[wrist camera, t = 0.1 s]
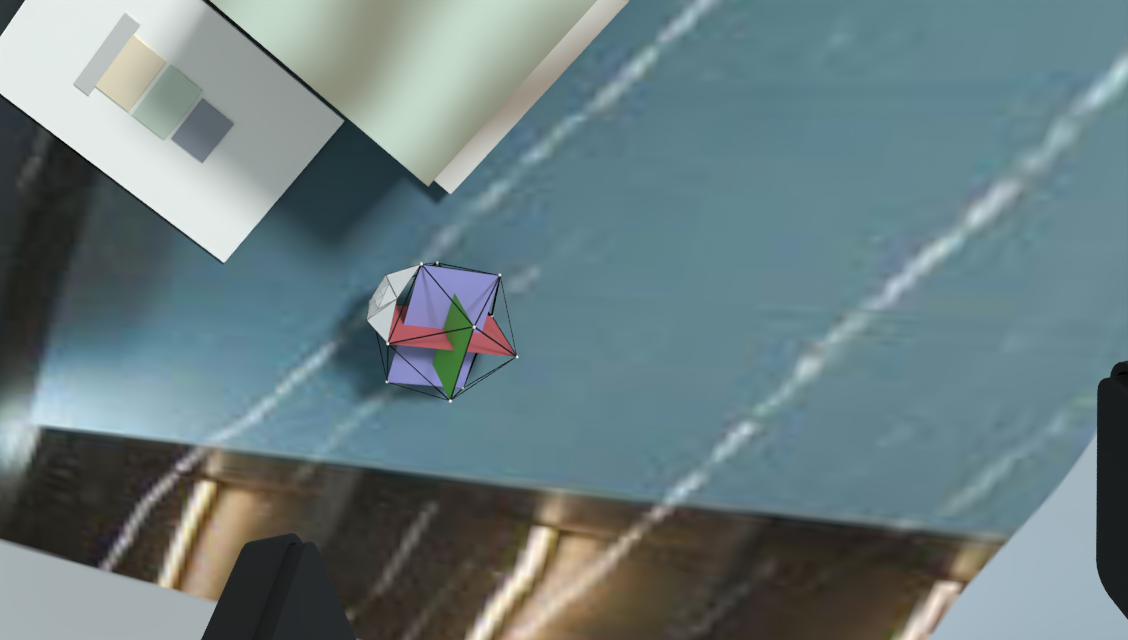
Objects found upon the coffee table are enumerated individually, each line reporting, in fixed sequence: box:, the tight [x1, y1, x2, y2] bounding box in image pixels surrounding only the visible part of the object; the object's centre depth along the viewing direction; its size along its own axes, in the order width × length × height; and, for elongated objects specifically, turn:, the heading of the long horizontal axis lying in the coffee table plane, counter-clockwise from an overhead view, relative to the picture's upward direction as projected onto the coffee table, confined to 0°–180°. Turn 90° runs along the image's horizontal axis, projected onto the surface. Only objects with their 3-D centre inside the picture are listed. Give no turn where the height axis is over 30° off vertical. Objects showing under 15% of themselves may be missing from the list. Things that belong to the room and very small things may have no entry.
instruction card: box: [0, 0, 345, 263], centre depth 45 cm, size 14×10×1 cm
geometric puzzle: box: [366, 262, 518, 403], centre depth 48 cm, size 7×7×8 cm
